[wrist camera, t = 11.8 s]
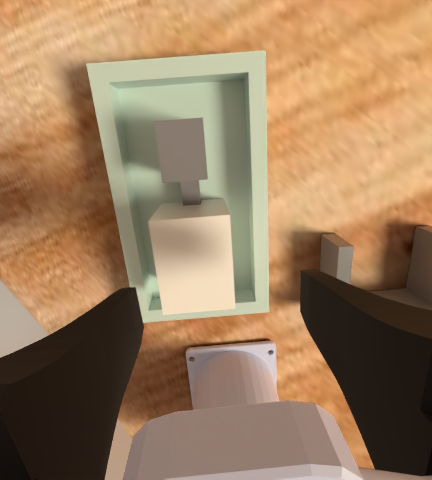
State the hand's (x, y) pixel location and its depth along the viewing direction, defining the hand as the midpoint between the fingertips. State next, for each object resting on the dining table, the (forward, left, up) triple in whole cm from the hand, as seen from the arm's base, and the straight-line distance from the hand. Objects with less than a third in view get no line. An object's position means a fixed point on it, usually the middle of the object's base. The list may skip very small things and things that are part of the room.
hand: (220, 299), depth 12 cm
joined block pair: (+2, +1, -9) cm, 10 cm away
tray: (+3, +1, -10) cm, 10 cm away
